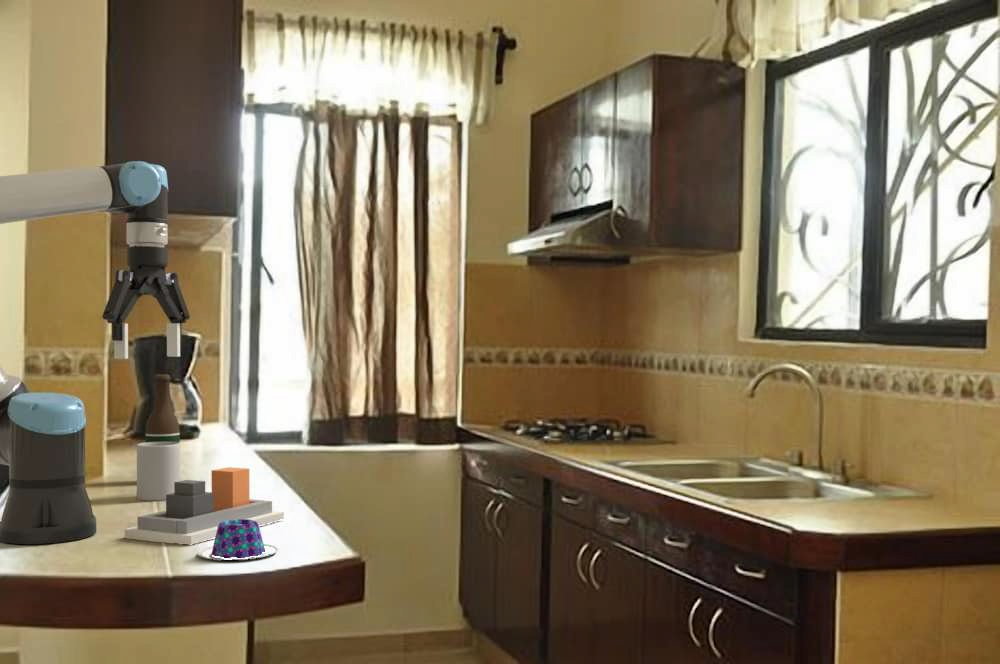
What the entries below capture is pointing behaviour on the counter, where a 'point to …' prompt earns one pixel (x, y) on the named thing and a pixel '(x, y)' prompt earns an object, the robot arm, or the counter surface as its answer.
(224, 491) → the block
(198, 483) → the handle
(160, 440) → the beer bottle
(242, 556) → the pudding
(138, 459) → the mug
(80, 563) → the counter surface
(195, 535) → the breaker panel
